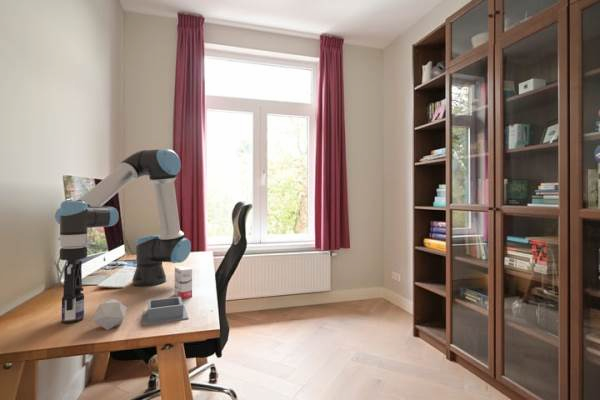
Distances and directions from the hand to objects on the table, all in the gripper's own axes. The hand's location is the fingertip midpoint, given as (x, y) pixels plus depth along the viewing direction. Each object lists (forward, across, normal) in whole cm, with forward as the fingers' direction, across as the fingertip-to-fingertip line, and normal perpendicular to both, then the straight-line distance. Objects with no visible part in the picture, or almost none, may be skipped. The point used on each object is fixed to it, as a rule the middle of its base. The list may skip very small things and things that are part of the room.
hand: (73, 315), depth 106 cm
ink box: (+2, -15, +36) cm, 39 cm away
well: (+2, +8, +28) cm, 29 cm away
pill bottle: (+2, 0, 0) cm, 2 cm away
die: (+2, +11, +12) cm, 17 cm away
